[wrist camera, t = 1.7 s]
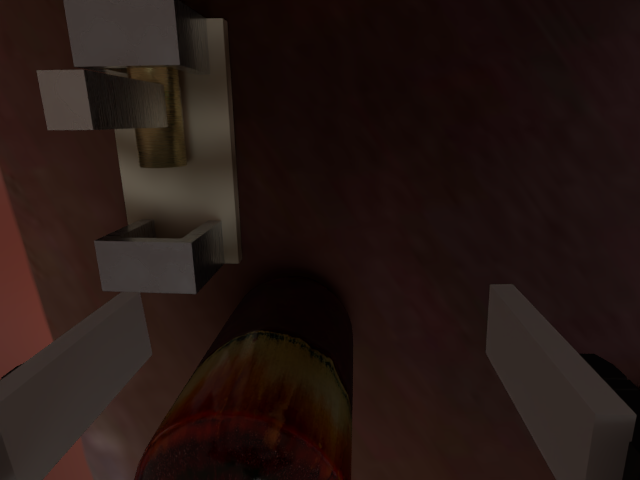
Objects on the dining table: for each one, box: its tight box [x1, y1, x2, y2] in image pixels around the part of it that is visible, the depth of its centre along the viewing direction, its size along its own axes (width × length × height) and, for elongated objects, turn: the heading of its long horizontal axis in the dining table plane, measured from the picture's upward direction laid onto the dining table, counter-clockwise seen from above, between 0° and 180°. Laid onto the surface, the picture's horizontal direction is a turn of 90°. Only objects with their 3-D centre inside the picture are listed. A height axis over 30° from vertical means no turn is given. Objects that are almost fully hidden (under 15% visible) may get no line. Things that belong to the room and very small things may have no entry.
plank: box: [106, 18, 242, 264], centre depth 35 cm, size 20×10×1 cm, turn 1°
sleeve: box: [63, 0, 210, 76], centre depth 29 cm, size 4×7×6 cm, turn 91°
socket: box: [94, 219, 225, 294], centre depth 33 cm, size 4×7×7 cm, turn 91°
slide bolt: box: [37, 67, 187, 168], centre depth 26 cm, size 18×4×12 cm, turn 1°
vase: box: [134, 276, 353, 480], centre depth 27 cm, size 11×11×26 cm
